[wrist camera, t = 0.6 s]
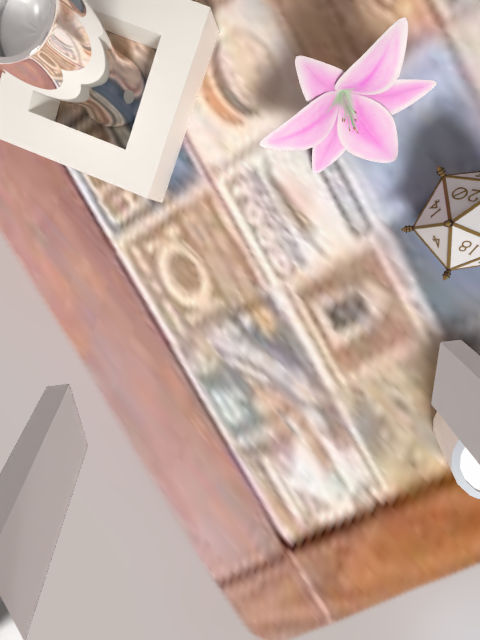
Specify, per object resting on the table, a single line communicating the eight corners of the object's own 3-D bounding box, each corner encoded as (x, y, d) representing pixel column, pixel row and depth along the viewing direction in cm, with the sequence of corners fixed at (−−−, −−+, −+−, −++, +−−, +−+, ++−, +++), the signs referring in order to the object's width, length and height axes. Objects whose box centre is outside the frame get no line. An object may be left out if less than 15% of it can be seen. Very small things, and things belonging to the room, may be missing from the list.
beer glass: (98, 146, 40) (-18, 89, 25) (63, 74, 39) (-78, -28, 24) (163, 108, 38) (81, 25, 24) (128, 33, 38) (20, -101, 23)
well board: (61, -27, 38) (33, -59, 34) (219, 32, 37) (210, 7, 33) (17, 144, 41) (-13, 133, 37) (162, 202, 40) (147, 198, 36)
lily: (245, 149, 39) (259, 186, 31) (281, -10, 32) (310, -12, 25) (365, 175, 42) (406, 215, 34) (422, 32, 35) (488, 41, 27)
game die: (418, 236, 41) (365, 244, 34) (472, 146, 36) (423, 135, 29) (508, 288, 37) (467, 311, 30) (582, 194, 32) (555, 195, 25)
